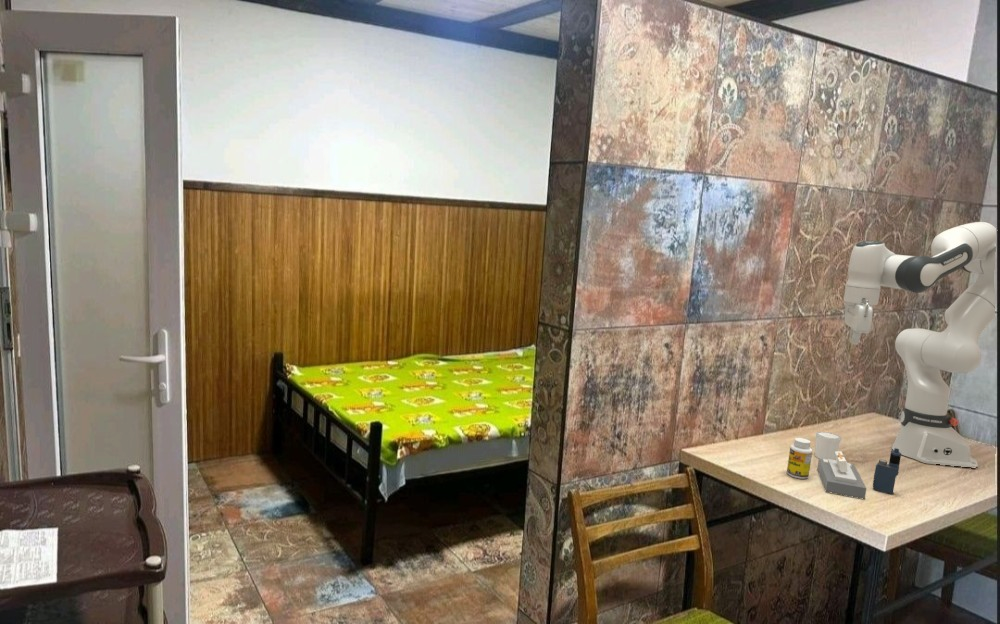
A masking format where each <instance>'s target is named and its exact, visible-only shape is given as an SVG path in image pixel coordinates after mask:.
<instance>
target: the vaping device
mask: <svg viewBox="0 0 1000 624" xmlns="http://www.w3.org/2000/svg"><path fill="white" fill-rule="evenodd" d="M889 455H890V456H889V460H888V461H887V460H886V459H881V458H880V459H878V462H877V464H876V465H875V468H874V475H873V481H872V487H873V489H872V490H874V491H876V492H881V493H885V494H888V495H893V494H894V489H895V483H896V478H897V476H898V475H899V472H900V471H899V470H900V463H901V458H902V457H901V456H902V454H901V453H900V452H899V449H896V448H895V449H894V450H891V451H890V454H889Z"/></svg>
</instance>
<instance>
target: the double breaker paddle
mask: <svg viewBox="0 0 1000 624" xmlns="http://www.w3.org/2000/svg"><path fill="white" fill-rule="evenodd" d="M835 456H836V462H837V465H838V466H839V469H840V471H841V472H848V470H847V463H846V462H847V460H846V458H845V456H844V454H843V452H842V450H840V451H839V450H838V451H836V452H835Z"/></svg>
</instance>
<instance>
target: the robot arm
mask: <svg viewBox="0 0 1000 624" xmlns="http://www.w3.org/2000/svg"><path fill="white" fill-rule="evenodd" d="M996 229H997V228H996V227H995V226H994V225H993V224H991V223H989V222H985V221H975V222H968V223H965V224H960V225H957V226H954V227H952V228H948V229H946V230H944V231H942V232H939V234H937V235H936V236H935V237H934V238H933V239H932V242H931V245H930V246H931V247H930V250H931V254H932V257H931V256H930V257H929V256H922V255H921V256H919V255H905V254H904V255H903V254H896V253H895V252H893V251H892V250H890V249H888V247H886V244H885V242H883V241H881V240H865V241H858V242H857V243H855V244H854V246H853V248H852V251H851V252H850V257H849V262H848V267H847V272H848V278H847V280H846V282H845V283H846V284H845V289H844V293H843V294H844V295H843V302H845V303H844V304H845V305H844V324H845V325H846V326H848V327H849V328H850V333H849V334H850V339H849V342H850V344H851V345H853V346H859V344H860V339H861V337H862V334H867V335H868V334H870V332H871V330H872V329H871V328H872V322H873V321H872V320H873V311H874V310H873V306H877V305H879V301H880V294H881V288H882V287H886V288H891V289H897V290H902V291H908V292H911V293H916V294H919V293H920V294H921V293H924V292H926V291H928V290H929V289H930V288H932V287H933V286H934V285H935V284H936V283H937V282H938V281H940V280H941V279H943V278H944V277H947V276H949V275H951V274H952V273H954V272H956V271H959V270H962V271H965V272H967V273H974V274H977V278H976V280H975V282H973V283H972V284H971V285H970V286H968V287H967V288H966V289H965V290H964V291H963V292H961V294H960V295H959V296H958V297H957V298H956V299H955V300H954V302H952V303H951V305H950V306H949V307H948V308H947V309H946V310H945V312H944V320H945V323H946V325H947V326H946V328H945V329H944V330H942V331H934V330H931V329H925V328H906V329H903V330H902V331H901V332H900V333H898V334H897V336H896V339H895V342H894V347H895V351H896V353H897V354H898V355H899V356H900V359H901V360H902V362H903V364H904V367H905V371H906V376H907V389H906V397H905V404H904V406H903V407H902V410H901V415H900V427H899V430H898V433H897V436H896V439H895V440H894V443H893V444H892V446H891V449H892V451H894V449H895V448H896V449H899V452H900V453H901V456H905V457H907V458H911V459H913V460H916V461H918V462H921V463H924V464H928V465H936V464H940V465H939V466H945V465H951V466H950V467H954V466H961V467H960V468H962V467H977V466H978V467H979V463H978V461H977V460H976V459H975V458H974V457H973V456H971V447H970V444H969V442H968V441H967V439H965V438H964V437H963V436H962V435H961V434H959V432H958V431H957V430H955V429H954V428H953V427H952V426H954V427H955V426H958V425H959V420H958V419H957V418H955V417H952V415H950V414H948V408H949V402H950V396H951V389H950V387H949V385H948V384H947V383H946V382H945V380H944V379H943V377H942V374H941V371H944V372H948V373H954V374H968V373H971V372H973V371H974V370H976V368H977V367H978V366H979V365H980V362H981V359H982V352H981V348H980V346H979V345H978V343H979V342H978V341H979V338H980V336H981V334H982V333H983V331H985V329H986V328H987V326H989V325H990V323H991V322H992V321H993V320H994V319H995V318H996V317H995V289H994V270H995V252H996V242H995V239H996Z"/></svg>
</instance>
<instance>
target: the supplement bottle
mask: <svg viewBox="0 0 1000 624" xmlns="http://www.w3.org/2000/svg"><path fill="white" fill-rule="evenodd" d="M812 457H813V449H812V448H811V441H810V440H809V439H806V438H803V437H795V438H794V442H793V443H792V444H791V445H790V447H789V453H788V461H787V468H786V474H787V475H788V476H790V477H792V478H795V479H799V480H800V479H801V480H806V479H808V478H809V476H810V472H811V471H810V470H811V463H812Z"/></svg>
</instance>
